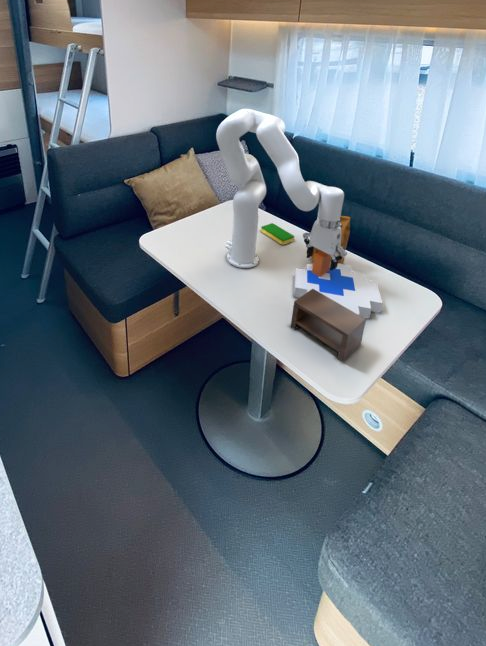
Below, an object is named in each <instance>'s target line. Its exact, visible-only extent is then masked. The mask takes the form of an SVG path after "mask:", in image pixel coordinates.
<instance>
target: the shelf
mask: <svg viewBox="0 0 486 646" xmlns="http://www.w3.org/2000/svg"><path fill="white" fill-rule="evenodd" d="M366 322H367V318H364V317H361V316H360V315H358V314H356V313H354V312H353V311H351V310H349V309H347V308H346V307H344V306H342V305H341V304H339V303H337V302H335V301H334V300H332V299H330V298H328V297H327V296H325V295H323V294H321V293H320V292H318V291H316V290H314V289H311V290H310V291H308V292H307V293H306V294H304V295H303V296H301V297H300V298H298V297H297V299H295V300H293V308H292V314H291V321H290V328H291V329H293V330H294V331H295V330H297V329H298V328H299V327H300V328H302V329H303V330H305V331H307V333H309V334H311V335H312V336H314V337H315V338H316V339H318V340H320V341H321V342H323V344H325V345H327V346H329V347H330V348H332V349H333V350H335V351H336V352H338V355H337V360H338V361H340V362H341V363H344V362H345V361H346V360H347V359H348V358H349V357H350V356H351V355H352V354H354V352H355V351H356V350H358V349H359V348H360V347H361V344H362V339H363V335H364V330H365V326H366Z"/></svg>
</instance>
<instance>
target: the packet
mask: <svg viewBox="0 0 486 646" xmlns="http://www.w3.org/2000/svg"><path fill="white" fill-rule="evenodd" d="M330 262H331V255H330V254H327V253H325V252H323V251H321V250H320V251H319V252H317V253H315V254H314V261H312V265H313V267H312V273H314V274H315V275H317V276H319V277H321V276H322V275H324V274H325V273H327V272H328V271H329V268H330Z"/></svg>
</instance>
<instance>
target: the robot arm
mask: <svg viewBox="0 0 486 646" xmlns="http://www.w3.org/2000/svg"><path fill="white" fill-rule="evenodd" d="M248 132H250V133H253V134H255V135H256V138H257V140H258V142H259V143H260V145H261V146H262V148H263V149H264V151H265V152H266V154H267V155H268V157H269V158H270V159H271V161H272V162H273V164H274V166H275V168H276V169H277V174H278V176H279V179H280V182H281V185H282V187H283V189H284V191H285V192H286V194H287V196H288V197H289V199H290V200H291V201H292V203H293V205H294V206H295V207H296V208H297V209H299V210H301V211H303V212H310V211H313V210H314V209H315V208H316V207H317V205H318V210H317V216H316V220H315V221H314V223H313V225H312V228H311V231H310V232H303V234H302V239H303V242H304V243H305V247H306V253H305V254H306V259H310V258H312V256H313V251H314V247H315V248H317V249H319V250H321V251H323V252H325V253H327V254H330V255H331V257H332V259H333V260H332V261H331V265H330V270H331V271H332V270H333V269H336V268H337V265H338V260H341V259H343V258H344V257H345V258H346V256H347V255H348V252H347V251H346V249H345V250H344V249H343V248H342V247H341V228H342V226H343V224H341V223H340V216H342V210H343V205H344V200H345V192H344V191H343V189H341V188H339V187H336V186H328V185H324V184H322V183H319V182H317V181H313V180H307V181H305V179H304V178H303V175H302V172H301V168H300V160H299V159H300V158H299V154H298V153H297V151H296V150H295V148H294V146H293V145H292V144H291V142H290V141H289V139H288V138H287V136H286V135H285V132H286V124H285V122H284V120H283V119H282V118H280V117H278V116H277V115H273V114H270V113H266V112H262V111H258V110H255V109H251V108H242V109H241V108H240V109H239V110H237V111H235V112H233V113H231V114H230V115H228V116H227V117H225V119H224V120H222V121H221V122H220V124H219V125H218V127H217V129H216V134H215V138H216V143H217V146H218V149H219V151H220V155H221V158H222V162H223V164H224V168H225V170H226V174H227V177H228V179H229V181H230V182H231V184H233V185H235V186H238V187H240V186H241V187H240V188H239V189H238V190H237V191H236V193H235V194H234V196H233V199H232V208H233V209H232V210H233V219H232V233H231V240H227V242H226V244H225V245H224V247H225V249H228V252H227V254H226V260H227V262H228V263H229V264H230V265H232V266H233V267H236V268H239V269H251V268H254V267H256V266H257V265H258V264H259V260H260V259H259V256H258V254H256V249H257V241H258V240H257V238H258V229H259V228H258V227H259V208H260V205H261V203H262V202H263V200H265V197H266V195H267V185H266V182H265V179H264V176H263V173H262V169H261V166H260V164H259V161H258V159H257V158H256V157H254V155H252V154H249V153H245V148H244V146H243V144H242V142H241V141H240V138H241V137H243V136H244V135H245V134H246V133H248ZM337 251H339V252H340V253H341V255H340V256H339V254H338V252H337ZM334 254H335V255H334ZM335 256H336V257H335Z"/></svg>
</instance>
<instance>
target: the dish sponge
mask: <svg viewBox="0 0 486 646" xmlns="http://www.w3.org/2000/svg"><path fill="white" fill-rule="evenodd" d="M260 232H261V233H263V234H265V235H266V236H268V237H269V238H270V239H272V240H274V241H275V242H277V243H278V244H280V245H282V246H284V245H286V244H289V243H292V242H294V241H295V235H293V234H292V233H290V232H288V231H287V230H286V229H283V228H281V226H278V225H277V224H275V223H273V222H270V223H268V224H265V225H262V226H261V228H260Z"/></svg>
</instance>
